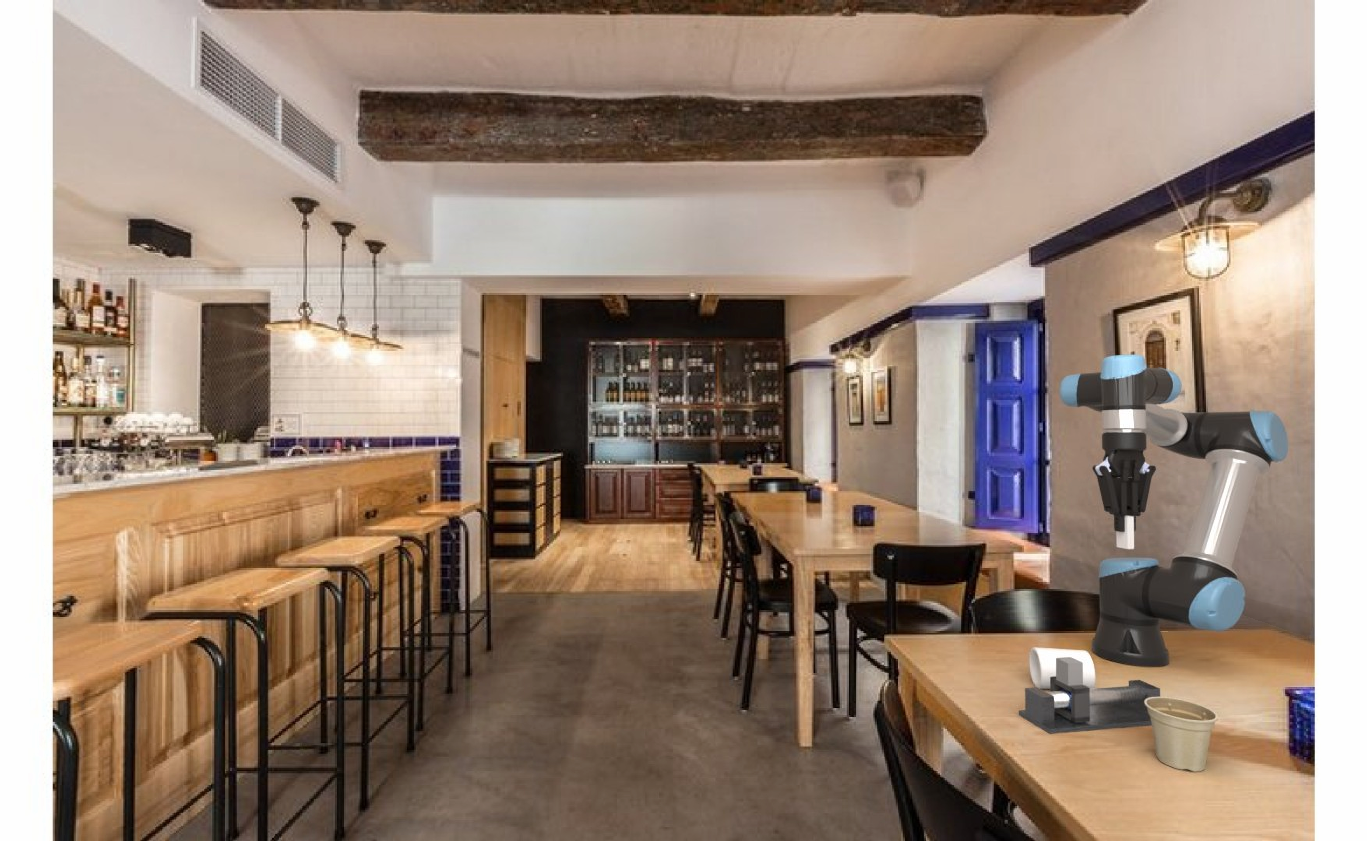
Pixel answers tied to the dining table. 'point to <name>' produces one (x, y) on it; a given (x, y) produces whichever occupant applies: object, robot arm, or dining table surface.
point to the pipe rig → (1091, 708)
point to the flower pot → (1181, 731)
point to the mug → (1045, 665)
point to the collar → (1072, 689)
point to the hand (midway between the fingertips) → (1125, 547)
